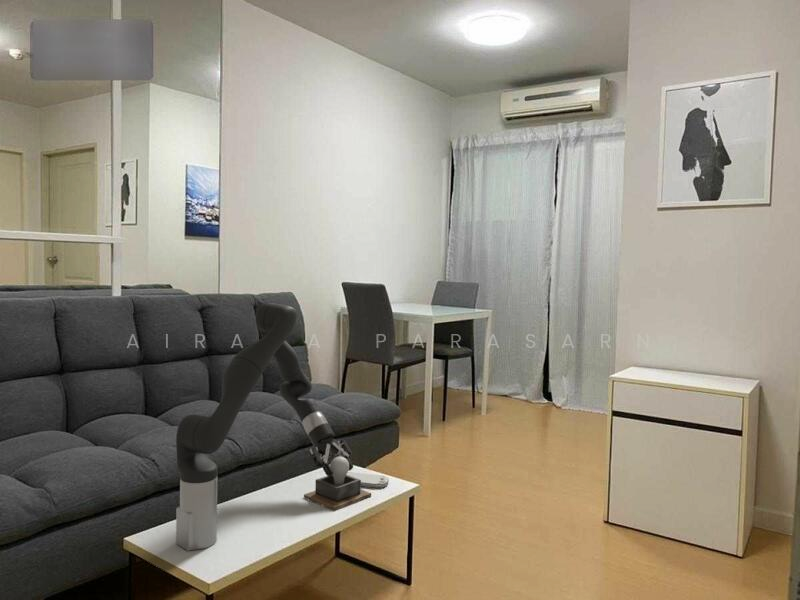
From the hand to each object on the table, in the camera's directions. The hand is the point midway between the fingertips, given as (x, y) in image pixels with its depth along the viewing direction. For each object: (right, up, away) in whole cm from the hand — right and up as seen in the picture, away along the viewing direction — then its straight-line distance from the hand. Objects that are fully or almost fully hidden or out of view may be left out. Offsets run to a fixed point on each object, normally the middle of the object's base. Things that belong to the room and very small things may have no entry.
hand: (341, 472), depth 191 cm
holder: (-1, -8, +1) cm, 8 cm away
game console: (+5, -8, +15) cm, 18 cm away
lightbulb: (-1, -7, +2) cm, 7 cm away
